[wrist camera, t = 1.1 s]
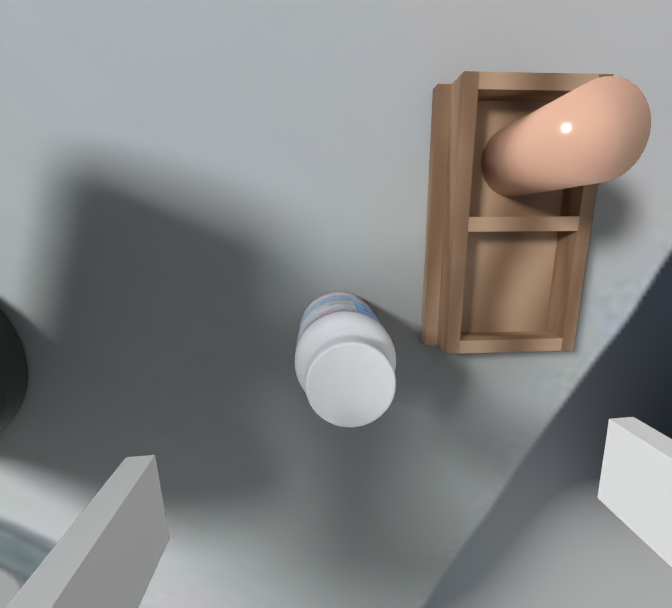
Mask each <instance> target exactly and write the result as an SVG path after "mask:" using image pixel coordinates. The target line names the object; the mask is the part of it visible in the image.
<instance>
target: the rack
mask: <svg viewBox="0 0 672 608" xmlns="http://www.w3.org/2000/svg"><path fill="white" fill-rule="evenodd" d="M613 75H614V74H568V73H518V72H469V71H464V72H463V73H462V74H461V75H460V76H459V77H458V78H457V80H456V81H455V82H454V83H453V84H437V86H436V87H435V88H434V89H433V101H432V122H431V143H430V164H429V185H428V206H427V227H426V248H425V269H424V291H423V312H422V333H421V342H422V343H423V344H424V345H425V346H427V345H437V346H438V347H439V348H440V349H441V350H443V351H444V352H445V353H446V354H461V353H496V352H532V351H568V350H574V343H575V336H576V329H577V322H578V315H579V309H580V302H581V295H582V288H583V281H584V274H585V267H586V261H587V254H588V247H589V240H590V233H591V226H592V219H593V213H594V206H595V199H596V192H597V185H598V183H596V184H590V185H584V186H578V187H572V188H565V189H559V190H553V191H547V192H541V193H535V194H529V195H522V196H516V197H506V196H502V195H499V194H497V193H496V192H494V191H493V190H492V189H491V188H490V187H489V186H488V185H487V183H486V182H485V180H484V177H483V174H482V169H481V159H482V154H483V151H484V148H485V146H486V144H487V142H488V141H489V139H490V138H491V137H492V136H493V135H494V134H495V133H496V132H497V131H499V130H500V129H502V128H504V127H506V126H507V125H509V124H511V123H513V122H515V121H517V120H519V119H520V118H522V117H524V116H526V115H528V114H530V113H532V112H533V111H535V110H537V109H539V108H541V107H543V106H545V105H546V104H548V103H550V102H552V101H554V100H556V99H558V98H559V97H561V96H563V95H565V94H567V93H569V92H571V91H572V90H574V89H576V88H578V87H580V86H582V85H584V84H585V83H587V82H589V81H591V80H594V79H596V78H600V77H604V76H613Z"/></svg>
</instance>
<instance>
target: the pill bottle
mask: <svg viewBox="0 0 672 608" xmlns="http://www.w3.org/2000/svg"><path fill="white" fill-rule="evenodd" d="M395 369H396V353H395V348H394V345H393V342H392V340H391V338H390V336H389V335H388V333H387V331H386V330H385V329H384V327H383V326H382V324H381V323H380V321H379V320H378V319H377V317H376V316H375V314H374V313H373V311H372V310H371V309H370V307H369V306H368V305H367V304H366V303H365V302H364V301H363V300H362V299H361V298H359V297H357V296H356V295H353V294H351V293H347V292H332V293H328V294H325V295H323V296H320V297H318V298H317V299H315V300H314V301H313V302H312V303H311V304H310V305H309V306H308V307H307V308H306V310H305V311H304V313H303V316H302V318H301V322H300V327H299V333H298V339H297V346H296V351H295V371H296V375H297V378H298V381H299V383H300V385H301V387H302V388H303V390H304V391H305V393H306V395H307V398H308V401H309V403H310V405H311V407H312V408H313V410H314V411H315V412H316V413H317V414H318V415H319V416H320V417H321V418H323V419H324V420H325V421H327V422H329V423H331V424H334V425H337V426H341V427H359V426H363V425H366V424H369V423H371V422H373V421H374V420H376V419H378V418H379V417H380V416H381V415H382V414H383V413H384V412H385V411H386V410H387V409H388V407H389V406H390V404H391V402H392V400H393V398H394V395H395V390H396V378H395Z"/></svg>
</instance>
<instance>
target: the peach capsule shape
mask: <svg viewBox="0 0 672 608" xmlns="http://www.w3.org/2000/svg"><path fill="white" fill-rule="evenodd" d="M650 128H651V115H650V109H649V105H648V102H647V100H646V98H645V96H644V94H643V93H642V92H641V90H640V89H639V88H638V87H637V86H636V85H635V84H633V83H632V82H630V81H629V80H627V79H624V78H621V77H616V76H604V77H600V78H596V79H594V80H591V81H589V82H587V83H585V84H584V85H582V86H580V87H578V88H576V89H574V90H572V91H571V92H569V93H567V94H565V95H563V96H561V97H559V98H558V99H556V100H554V101H552V102H550V103H548V104H546V105H545V106H543V107H541V108H539V109H537V110H535V111H533V112H532V113H530V114H528V115H526V116H524V117H522V118H520V119H519V120H517V121H515V122H513V123H511V124H509V125H507V126H506V127H504V128H502V129H500V130H499V131H497V132H496V133H495V134H494V135H493V136H492V137H491V138H490V139H489V141H488V142H487V144H486V146H485V148H484V151H483V154H482V159H481V169H482V174H483V177H484V180H485V182H486V183H487V185H488V186H489V187H490V188H491V189H492V190H493V191H494V192H496V193H497V194H499V195H502V196H506V197H516V196H522V195H529V194H535V193H541V192H547V191H553V190H559V189H565V188H572V187H578V186H584V185H590V184H596V183H602V182H607V181H610V180H613V179H615V178H617V177H619V176H621V175H622V174H624V173H625V172H627V171H628V170H629V169H630V168H631V167H632V166H633V165H634V164H635V163H636V162H637V160H638V159H639V158H640V156H641V154H642V153H643V151H644V149H645V147H646V144H647V141H648V139H649V134H650Z"/></svg>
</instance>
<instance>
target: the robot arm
mask: <svg viewBox="0 0 672 608" xmlns="http://www.w3.org/2000/svg"><path fill="white" fill-rule="evenodd" d="M26 382H27V369H26V361H25V356H24V352H23V349H22V346H21V344H20V341H19V339H18V337H17V335H16V333H15V331H14V329H13V328H12V326H11V324H10V323H9V322H8V320H7V319H6V317H5V316H4V315H3V314H2V312H1V311H0V430H1V429H3V428H4V427H5V426H6V425H7V424H8V423H9V422H10V420H11V419H12V418H13V417H14V415H15V414H16V412H17V411H18V409H19V407H20V405H21V403H22V400H23V397H24V394H25V389H26ZM598 499H599V500H600V501H602V502H603V503H604V504H605V505H606V506H607V507H608V508H609V509H610V510H611V511H612V512H613V513H614V514H615V515H616V516H617V517H618V518H619V519H621V520H622V521H623V522H624V523H625V524H626V525H627V526H628V527H629V528H630V529H632V531H633V532H635V533H636V534H637V535H638V536H639V537H640V538H641V539H642V540H643V541H644V542H645V543H646V544H647V545H648V546H649V547H650V548H651V549H653V550H654V551H655V552H656V553H657V554H658V555H659V556H660V557H661V558H662V559H663V560H664V561H665V562H666V563H668V564H669V565H670V566H671V567H672V439H670V438H669V437H667V436H665V435H663V434H662V433H660V432H658V431H657V430H655V429H653V428H651V427H650V426H648V425H646V424H645V423H643V422H641V421H640V420H638V419H636V418H634V417H626V418H614V419H609V424H608V431H607V437H606V444H605V451H604V457H603V465H602V471H601V478H600V484H599V491H598ZM168 541H169V532H168V527H167V521H166V515H165V509H164V504H163V498H162V492H161V486H160V480H159V475H158V469H157V463H156V457H155V455H146V456H133V457H126V458H125V459H124V460H123V462H122V463H121V464H120V465H119V467H118V468H117V469H116V470H115V472H114V473H113V474H112V475H111V477H110V478H109V479H108V480H107V482H106V483H105V484H104V485H103V487H102V488H101V489H100V490H99V492H98V493H97V494H96V495H95V497H94V498H93V499H92V500H91V502H90V503H89V504H88V505H87V507H86V508H85V509H84V510H83V512H82V513H81V514H80V515H79V517H78V518H77V519H76V520H75V522H74V523H73V524H72V525H71V527H70V528H69V529H68V530H67V532H66V533H65V534H64V535H63V537H62V538H61V539H60V540H59V542H58V543H57V544H56V545H55V547H54V548H53V549H52V550H51V552H50V553H49V554H48V555H47V557H46V558H45V559H44V560H43V562H42V563H41V564H40V565H39V567H38V568H37V569H36V570H35V572H34V573H33V574H32V575H31V577H30V578H29V579H28V580H27V582H26V583H25V584H24V585H23V587H22V588H21V589H20V590H19V592H18V593H17V594H16V595H15V597H14V598H13V599H12V600H11V602H10V603H9V604H8V605H7V607H6V608H138V607H139V605H140V603H141V600H142V598H143V596H144V594H145V592H146V589H147V587H148V585H149V583H150V580H151V578H152V576H153V574H154V572H155V569H156V567H157V565H158V563H159V560H160V558H161V556H162V554H163V552H164V549H165V547H166V545H167V543H168Z"/></svg>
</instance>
